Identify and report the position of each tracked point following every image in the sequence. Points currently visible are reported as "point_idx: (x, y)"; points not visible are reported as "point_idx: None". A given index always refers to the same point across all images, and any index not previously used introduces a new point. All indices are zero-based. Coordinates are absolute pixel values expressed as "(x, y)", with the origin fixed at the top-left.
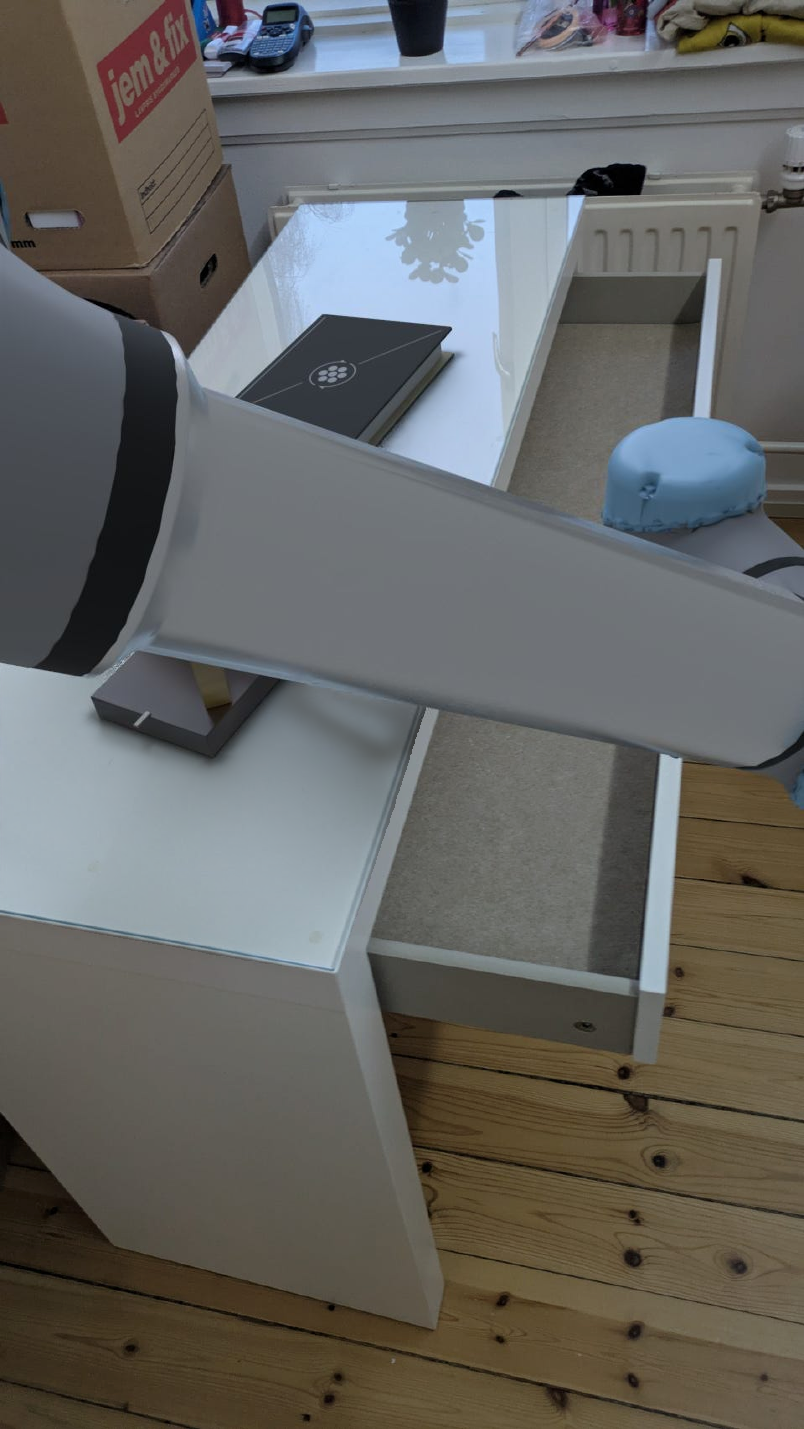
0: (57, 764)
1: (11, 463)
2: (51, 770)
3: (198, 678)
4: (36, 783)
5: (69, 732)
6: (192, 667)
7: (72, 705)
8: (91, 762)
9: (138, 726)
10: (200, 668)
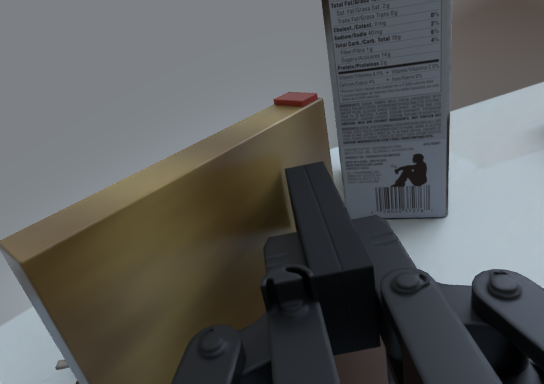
0: (43, 333)
1: None
2: (32, 335)
3: (78, 381)
4: (10, 338)
5: None
6: (63, 356)
7: None
8: (46, 361)
9: (58, 368)
10: (72, 369)
